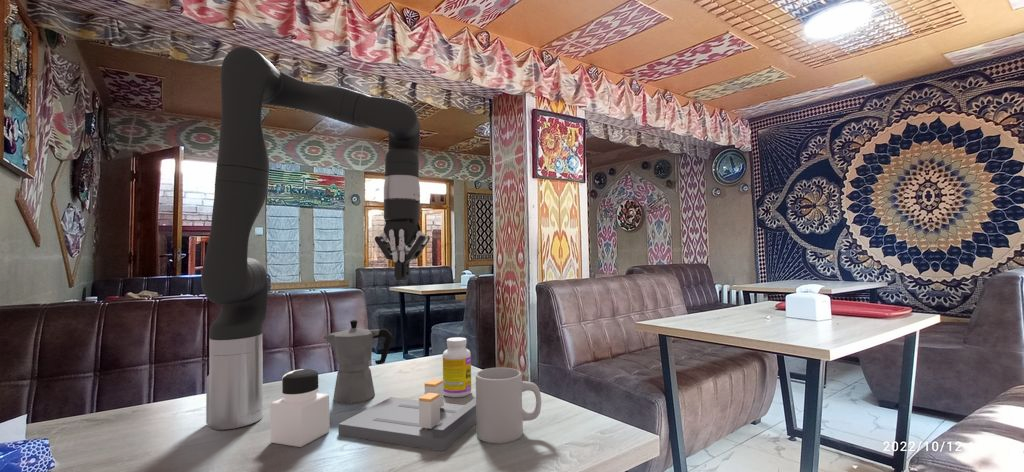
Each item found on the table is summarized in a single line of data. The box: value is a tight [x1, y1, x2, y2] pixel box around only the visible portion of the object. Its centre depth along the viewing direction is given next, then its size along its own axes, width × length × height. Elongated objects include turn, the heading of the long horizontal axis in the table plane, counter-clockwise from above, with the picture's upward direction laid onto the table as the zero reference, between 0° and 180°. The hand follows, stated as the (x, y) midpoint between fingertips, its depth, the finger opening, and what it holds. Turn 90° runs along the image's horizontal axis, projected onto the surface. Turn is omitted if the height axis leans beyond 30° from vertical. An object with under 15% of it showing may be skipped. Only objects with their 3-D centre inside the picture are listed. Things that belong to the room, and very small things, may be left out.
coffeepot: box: [323, 319, 394, 405], centre depth 104 cm, size 15×9×18 cm, turn 100°
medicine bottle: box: [269, 368, 330, 448], centre depth 82 cm, size 7×7×12 cm
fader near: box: [418, 393, 440, 429], centre depth 80 cm, size 2×3×5 cm
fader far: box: [424, 378, 445, 408], centre depth 89 cm, size 2×3×5 cm
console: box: [337, 396, 476, 452], centre depth 86 cm, size 22×16×4 cm
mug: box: [475, 367, 542, 444], centre depth 81 cm, size 12×8×11 cm
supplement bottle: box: [442, 336, 472, 398], centre depth 105 cm, size 7×7×13 cm
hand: (401, 279), depth 94 cm, fingers closed
